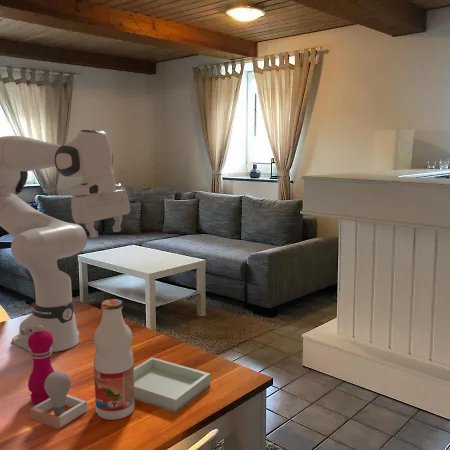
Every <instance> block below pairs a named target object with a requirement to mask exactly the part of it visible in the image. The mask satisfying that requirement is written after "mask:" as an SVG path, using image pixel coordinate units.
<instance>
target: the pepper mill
mask: <svg viewBox="0 0 450 450" xmlns="http://www.w3.org/2000/svg"><path fill="white" fill-rule="evenodd" d="M43 329H44V328H43V326H42V325H39V326H37V327H36V331H35V332H33V333H32V334H31V335H30V336H29V338H28V346H29V348H30V349H31V353H30V358H32V360H33V362H32V370H31V373H30V375H29V376H28V377H29V378H28V382H27V389H28V390H29V392H30V393H31V394H30V402H31V404H33V405H34V406H36V405H37V404H39V403H41V402H43V401H45V400H47V399H48V398H50V397H49V395H48V394H47V393H46V391H45V388H44V383H45V380H46V378H47V377H48V375H49V374H51V373H53V372H55V370H54V368H53V366H52V363H51V356H52V354H53V352H51V350H52V349H51V346H52V344H53V337H52V335H51V333H50V332H48V331H45V330H43Z"/></svg>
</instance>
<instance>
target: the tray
mask: <svg viewBox="0 0 450 450" xmlns="http://www.w3.org/2000/svg"><path fill="white" fill-rule="evenodd" d="M210 386H211V373H209V372H207V371H202V370H199V369H195V368H192V367H187V366H186V365H181V364H177V363H174V362H170V361H167V360H164V359H163V360H162V359H160V358H157V357H154V356H152V357H149V358H147V360H145V361H143V362H142V363H140V364H138V365H136V366H134V400H135V401H136V400H137V401H140V402H143V403H145V404H148V405H151V406H154V407H156V408H160V409H163V410H166V411H169V412H172V413H175V414H177V413H178V412H179V411H180V410H182V409H183V408H184V407H186V406H187V405H188V404H190V403H191V401H194V400H195V398H197V397H198V396H199V395H200V394H202V393H203V392H204V391H205V390H207V389H208V388H209V387H210Z"/></svg>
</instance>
